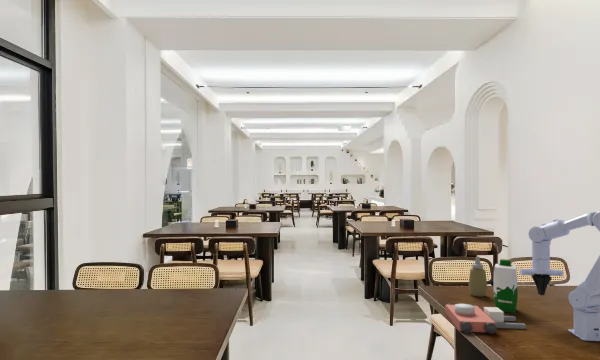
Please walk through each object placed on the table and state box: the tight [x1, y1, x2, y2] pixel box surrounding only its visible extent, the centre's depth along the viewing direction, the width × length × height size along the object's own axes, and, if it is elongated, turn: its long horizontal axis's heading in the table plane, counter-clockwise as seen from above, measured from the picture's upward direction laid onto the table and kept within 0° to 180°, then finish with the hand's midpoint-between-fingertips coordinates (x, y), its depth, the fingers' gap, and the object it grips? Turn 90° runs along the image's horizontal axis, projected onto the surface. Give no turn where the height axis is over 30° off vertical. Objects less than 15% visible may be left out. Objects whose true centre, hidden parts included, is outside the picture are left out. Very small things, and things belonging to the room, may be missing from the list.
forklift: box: [444, 303, 527, 335], centre depth 149 cm, size 23×24×6 cm
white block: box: [483, 306, 505, 323], centre depth 149 cm, size 6×8×5 cm
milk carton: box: [493, 258, 519, 314], centre depth 165 cm, size 9×9×20 cm
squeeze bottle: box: [468, 255, 488, 298], centre depth 188 cm, size 8×8×18 cm
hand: (541, 294), depth 152 cm, fingers closed
